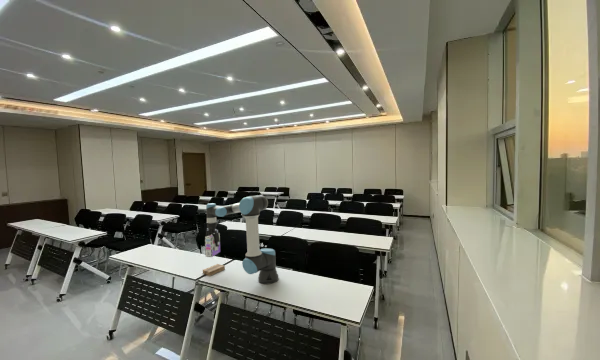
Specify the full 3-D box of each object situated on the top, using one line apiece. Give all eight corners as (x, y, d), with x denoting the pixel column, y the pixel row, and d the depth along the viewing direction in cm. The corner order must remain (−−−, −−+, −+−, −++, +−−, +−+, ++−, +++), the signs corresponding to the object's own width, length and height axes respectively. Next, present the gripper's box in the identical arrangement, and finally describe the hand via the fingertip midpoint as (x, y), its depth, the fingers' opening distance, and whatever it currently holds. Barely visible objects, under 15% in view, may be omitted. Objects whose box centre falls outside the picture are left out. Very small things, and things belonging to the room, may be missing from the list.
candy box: (211, 257, 200) (211, 237, 199) (205, 257, 201) (204, 236, 200) (220, 251, 213) (220, 232, 213) (214, 251, 214) (213, 232, 214)
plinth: (224, 269, 211) (224, 265, 211) (209, 275, 199) (209, 272, 199) (217, 267, 216) (217, 263, 216) (202, 273, 204) (202, 269, 204)
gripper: (223, 222, 203) (224, 250, 204) (208, 220, 215) (209, 246, 216) (215, 224, 197) (217, 252, 198) (200, 221, 208) (201, 248, 209)
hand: (213, 249), depth 207 cm, fingers closed on candy box, 7 cm apart
